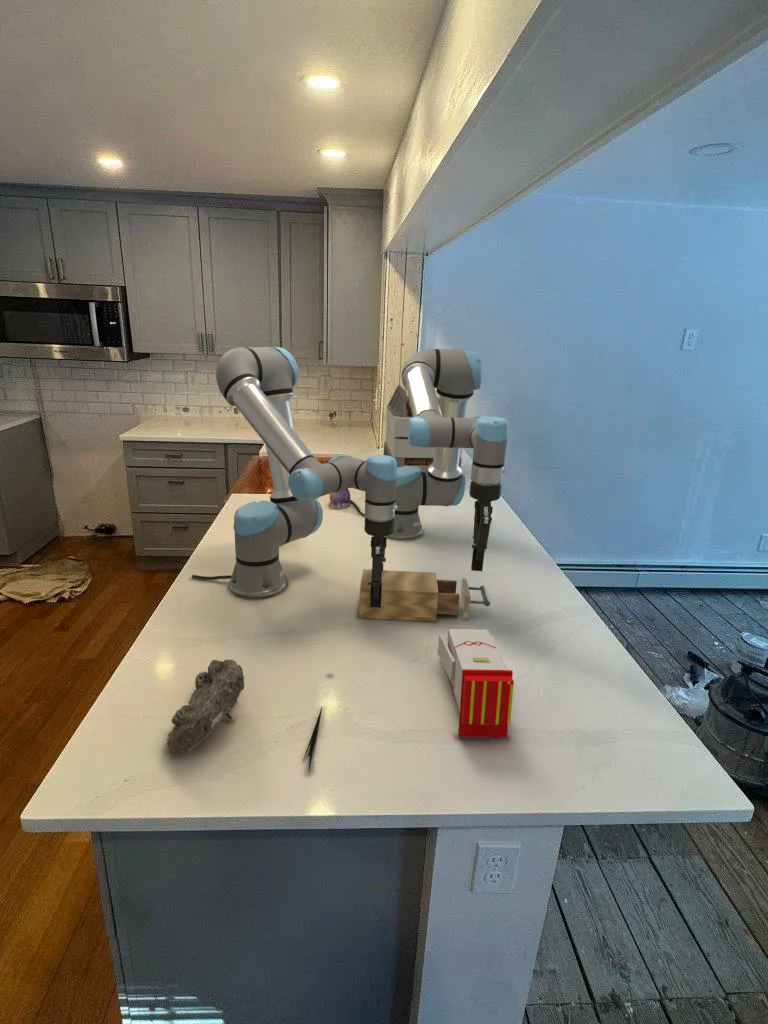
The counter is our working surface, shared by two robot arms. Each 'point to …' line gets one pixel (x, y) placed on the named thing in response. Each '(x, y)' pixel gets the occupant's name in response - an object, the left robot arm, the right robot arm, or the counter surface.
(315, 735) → the feather
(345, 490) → the figurine
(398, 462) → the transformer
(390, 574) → the wooden drawer box
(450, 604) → the drawer
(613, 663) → the counter surface
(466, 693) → the toy
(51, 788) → the counter surface
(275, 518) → the left robot arm
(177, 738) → the fossil
